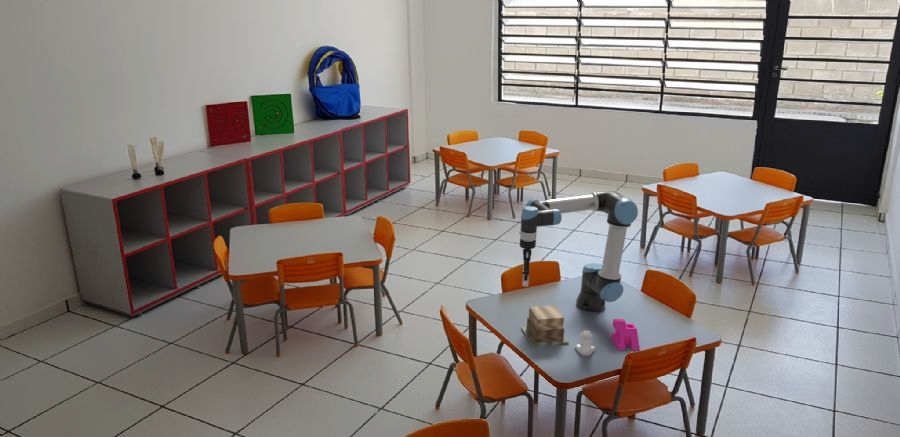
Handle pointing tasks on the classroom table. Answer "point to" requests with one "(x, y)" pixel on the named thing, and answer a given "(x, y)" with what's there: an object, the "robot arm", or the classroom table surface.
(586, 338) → the seated beast figurine
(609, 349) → the classroom table surface
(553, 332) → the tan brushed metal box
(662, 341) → the classroom table surface
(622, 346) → the bracket
